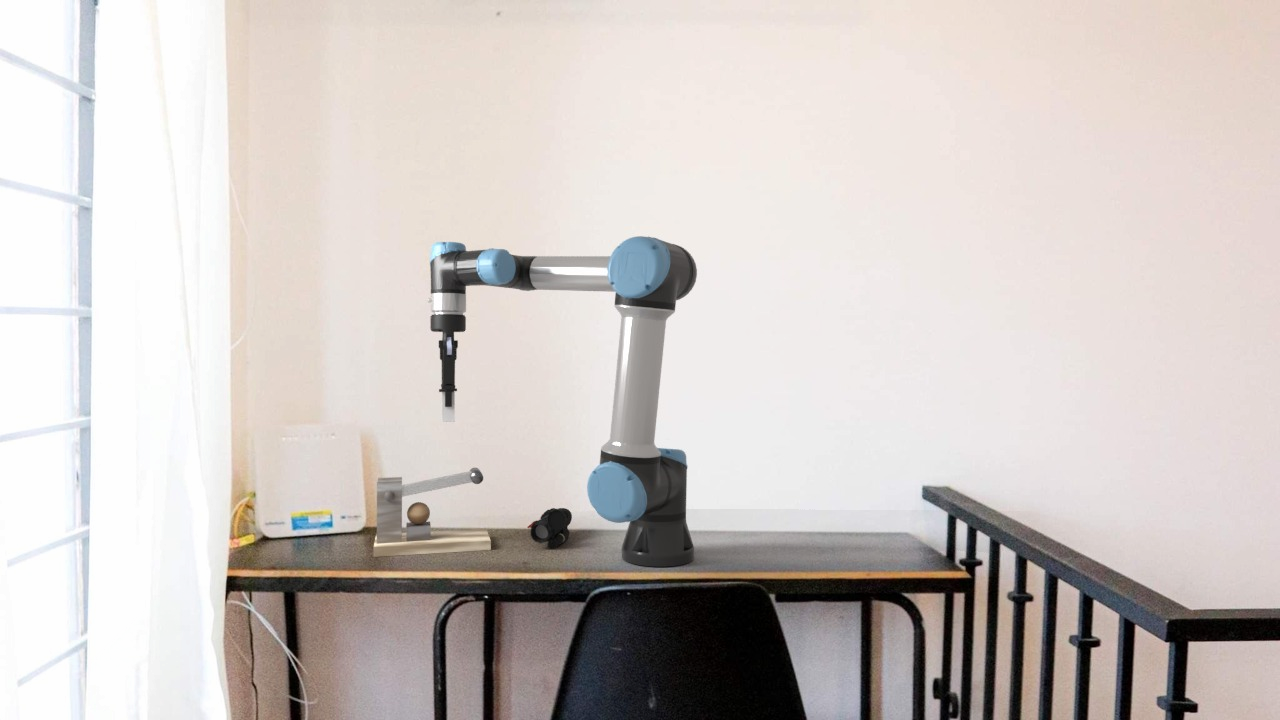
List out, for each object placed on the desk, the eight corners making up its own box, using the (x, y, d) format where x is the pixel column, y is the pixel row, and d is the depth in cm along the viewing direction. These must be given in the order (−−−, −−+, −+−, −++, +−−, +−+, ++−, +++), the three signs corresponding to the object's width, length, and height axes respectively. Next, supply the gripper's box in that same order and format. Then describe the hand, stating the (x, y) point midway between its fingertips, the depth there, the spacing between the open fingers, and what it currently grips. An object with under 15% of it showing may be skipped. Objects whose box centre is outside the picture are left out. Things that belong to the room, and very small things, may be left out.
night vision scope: (562, 542, 190) (593, 517, 188) (536, 563, 172) (569, 536, 170) (542, 516, 191) (573, 491, 189) (513, 534, 173) (547, 506, 171)
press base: (490, 549, 173) (491, 480, 172) (373, 556, 166) (373, 484, 166) (485, 537, 184) (486, 472, 184) (375, 543, 178) (376, 475, 177)
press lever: (484, 482, 174) (482, 471, 174) (385, 503, 169) (383, 491, 169) (481, 477, 181) (479, 466, 181) (386, 497, 176) (384, 485, 176)
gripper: (429, 314, 181) (429, 419, 181) (431, 312, 168) (431, 424, 168) (463, 315, 183) (463, 418, 183) (467, 312, 170) (467, 423, 170)
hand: (448, 421), depth 176 cm, fingers closed
